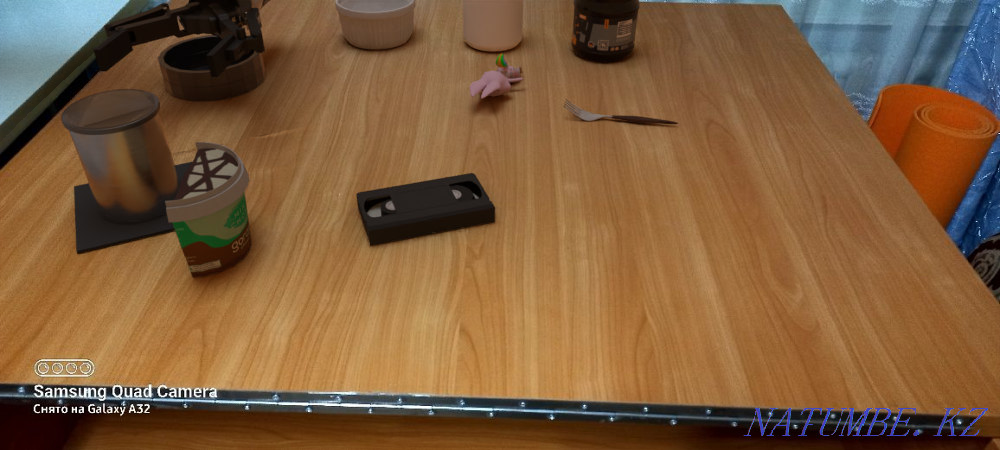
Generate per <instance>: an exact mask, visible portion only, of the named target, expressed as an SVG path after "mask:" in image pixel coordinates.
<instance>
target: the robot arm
mask: <svg viewBox="0 0 1000 450" xmlns="http://www.w3.org/2000/svg"><path fill="white" fill-rule="evenodd" d="M270 1H271V0H188V1H187V3H186V4H185V5H183V6H180V7H177V8H173V9H170V4H169V3H166V2H162V3H160V4H157V5H156V6H154V7H153V8H150V9H147V10H144V11H142V12H138V13H136V14H132V15H130V16H126V17H124V18H121V19H118V20H114V21H112V22H109V23H106V24H104V25H103V28H104V32H105V35H106V39H105V40H103V41H102V42H101V43H100V44H99V45H97V46H96V47H95V48H93V50H92V51H93V54H94V56H95V59H96V60H95V61H96V62H97V65H98V69H99V71H100V72H104V73H105V72H106V73H107V72H108V71H109V70H110V69H111V68H113V67H114V66H115V65H117V64H118V63H120V62H121V61H122V60H123V59H125V57H127V56H128V55H130V54H131V53H132V52H134V48H133V47H136V46H140V45H143V44H147V43H151V42H156V41H159V40H163V39H166V38H170V37H176V38H178V39H181V38H184V37H189V36H192V35H197V36H199V35H214V36H218V37H220V38H221V39H223V40H222V41H221V42H220V43H219V44H217V45H216V46H215V47H214V48H213V49H212V50H211V51H210V52H209V53H208V54H207V55H206V57H207V61H208V65H209V69H210V74H211V77H218V76H219V75H220V74H221V73H222V72H223V71H224V70H225V69H226V68H227V67H228V66H229V65H230V64H231V63H232V62H233V61H237V60H238V59H239V58H240V57H241V56H242V55H243V54H248V53H249V50H255V52H256V53H262V54H263V53H265V52H266V48H265V41H264V36H263V32H262V27H263V24H262V19H261V14H260V13H261V12H260V11H261V10H262V9H263V8H264V7H265V6H266V5H267V4H268V3H270ZM179 24H180V25H181V27H182V29H180V25H179ZM245 27H246V28H245ZM246 30H247V31H249V35H247V32H246Z"/></svg>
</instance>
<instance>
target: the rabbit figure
mask: <svg viewBox="0 0 1000 450" xmlns="http://www.w3.org/2000/svg"><path fill="white" fill-rule="evenodd" d="M495 65H496V66H497V68H496V70H489V71H484V72H483V74H482V75H481V77H480V79H478V80H475V81H473V82H471V83H470V85H469V95H470V97H472V98H474V97H475V96H477V95H478V94H479V93H480V92H482V93H481V96H480V99H485V98H487V97H488V96H489V97H492V98H495V97H498V96H501V95H505V94H507V93H508V92H510V91H511V90H512V85H511V83H512V84H513V83H517V82H523V80H524V78H523V77H522V75H524V72H523V68H522V63H521V65H518V66H517V67H515V66H513V65H508V61H506V60H505V55H504V53H500V54H498V55H497V57H496V60H495Z"/></svg>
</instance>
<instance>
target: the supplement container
mask: <svg viewBox="0 0 1000 450" xmlns="http://www.w3.org/2000/svg"><path fill="white" fill-rule="evenodd" d="M640 6H641V2H640V0H573V7H574V8H573V19H572V33H571V34H572V36H571V42H570V45H571V48H572V50H573V52H574V53H575V54H576V55H578V56H579V57H580V58H583V59H586V60H588V61H593V62H601V63H609V62H610V63H611V62H617V61H621V60H624V59H627V58H628V57H630V56H631V55H632V54H633V52H634V50H635V47H636V46H635V45H636V44H635V42H636V32H637V24H638V15H639V9H640Z"/></svg>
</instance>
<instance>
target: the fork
mask: <svg viewBox="0 0 1000 450" xmlns="http://www.w3.org/2000/svg"><path fill="white" fill-rule="evenodd" d="M564 100H565V101H564V103H563V104H564V105H563V108H565V110H567V111H568V112H570V113H571V114H573V115H574V116H576V117H577V118H579V119H581V120H582V121H585V122H593V121H597V120H600V119H603V118H607V119H614V120H620V121H625V122H630V123H636V124H637V123H639V124H658V125H659V124H660V125H678V124H679V122H677V121H673V120H669V119H668V120H667V119H660V118H654V117H646V116H640V115H616V114H599V113H594V112H590V111H587V110H584V109H583V108H581V107H578V105H576V104H574V103H572V102H571V101H570V100H568V99H567V98H565V99H564Z"/></svg>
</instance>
